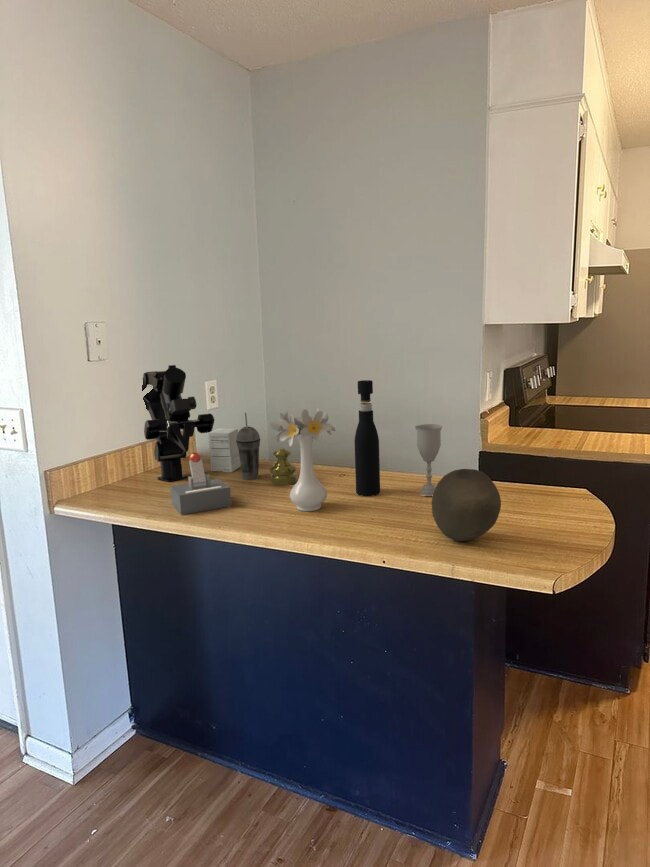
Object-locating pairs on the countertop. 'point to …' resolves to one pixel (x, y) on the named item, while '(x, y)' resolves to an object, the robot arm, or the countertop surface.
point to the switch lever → (196, 468)
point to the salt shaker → (282, 469)
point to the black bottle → (366, 445)
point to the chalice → (428, 450)
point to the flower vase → (304, 455)
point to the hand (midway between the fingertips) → (186, 450)
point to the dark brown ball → (465, 504)
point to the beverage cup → (248, 451)
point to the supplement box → (224, 450)
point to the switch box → (200, 496)
